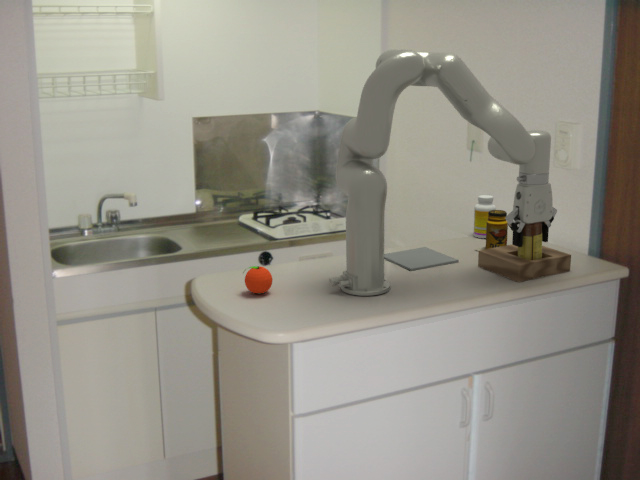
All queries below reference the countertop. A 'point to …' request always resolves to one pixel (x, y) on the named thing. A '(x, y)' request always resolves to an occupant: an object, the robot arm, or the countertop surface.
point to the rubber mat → (419, 258)
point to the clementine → (258, 279)
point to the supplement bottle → (482, 214)
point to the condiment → (496, 229)
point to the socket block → (523, 263)
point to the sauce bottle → (531, 242)
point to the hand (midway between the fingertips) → (530, 243)
